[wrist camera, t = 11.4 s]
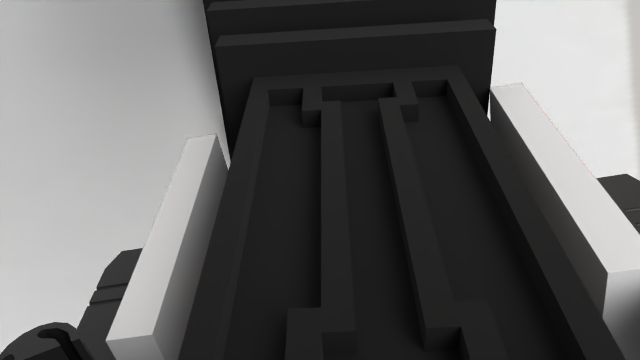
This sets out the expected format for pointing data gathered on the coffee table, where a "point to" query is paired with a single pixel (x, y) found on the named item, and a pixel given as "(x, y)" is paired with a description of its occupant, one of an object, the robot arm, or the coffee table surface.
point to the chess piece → (375, 196)
